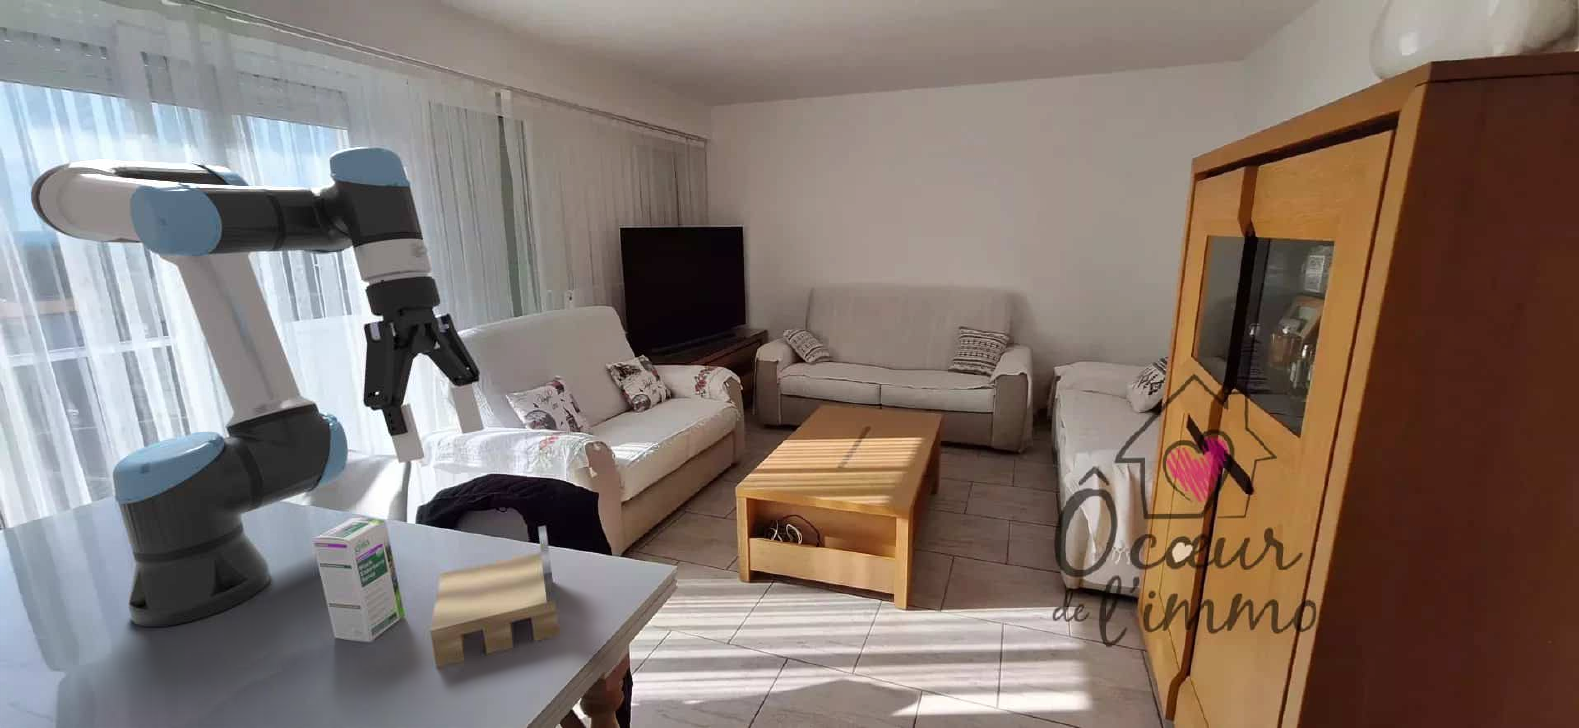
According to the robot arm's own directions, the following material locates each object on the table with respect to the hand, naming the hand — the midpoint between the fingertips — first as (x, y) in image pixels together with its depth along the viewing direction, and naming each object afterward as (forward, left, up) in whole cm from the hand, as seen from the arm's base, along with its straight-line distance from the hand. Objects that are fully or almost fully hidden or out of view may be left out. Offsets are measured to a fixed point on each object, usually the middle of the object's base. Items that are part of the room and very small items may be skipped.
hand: (445, 445), depth 81 cm
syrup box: (-3, -12, -25) cm, 28 cm away
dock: (+3, +4, -25) cm, 25 cm away
